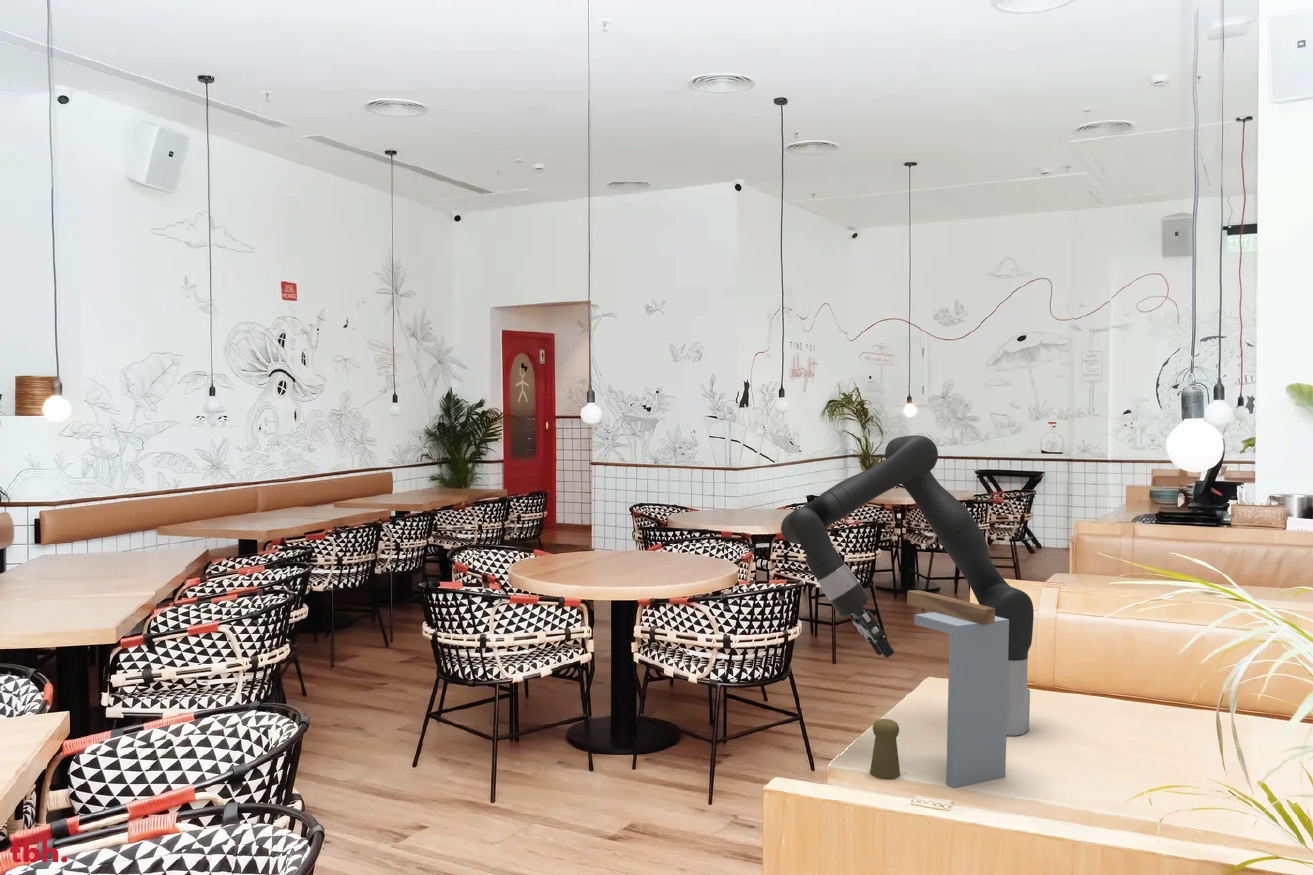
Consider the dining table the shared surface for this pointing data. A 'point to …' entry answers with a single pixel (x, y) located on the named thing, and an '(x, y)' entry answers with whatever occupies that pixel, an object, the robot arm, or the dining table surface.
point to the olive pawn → (885, 750)
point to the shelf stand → (974, 697)
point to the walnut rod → (951, 607)
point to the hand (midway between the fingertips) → (886, 654)
